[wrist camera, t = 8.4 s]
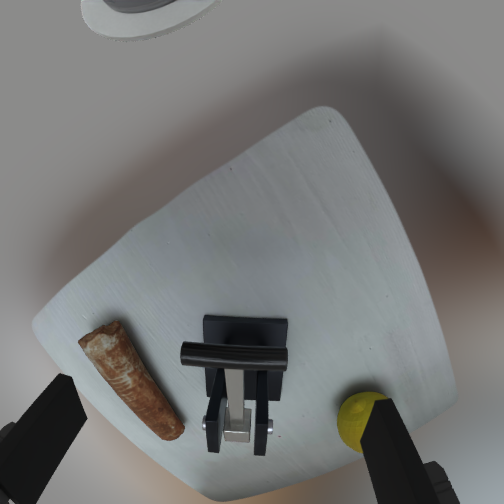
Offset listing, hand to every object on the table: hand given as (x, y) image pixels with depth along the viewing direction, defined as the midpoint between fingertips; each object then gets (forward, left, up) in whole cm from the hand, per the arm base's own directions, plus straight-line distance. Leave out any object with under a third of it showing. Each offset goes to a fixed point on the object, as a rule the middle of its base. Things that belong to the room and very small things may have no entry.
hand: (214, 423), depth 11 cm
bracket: (+11, 0, -21) cm, 23 cm away
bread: (+15, -12, -21) cm, 29 cm away
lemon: (+19, +16, -21) cm, 33 cm away
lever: (+5, 0, -9) cm, 11 cm away
